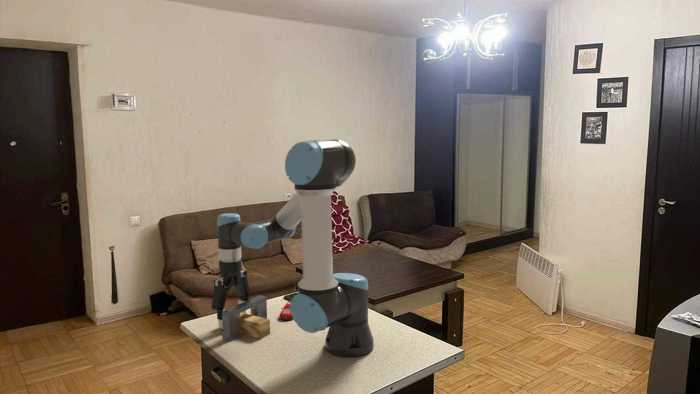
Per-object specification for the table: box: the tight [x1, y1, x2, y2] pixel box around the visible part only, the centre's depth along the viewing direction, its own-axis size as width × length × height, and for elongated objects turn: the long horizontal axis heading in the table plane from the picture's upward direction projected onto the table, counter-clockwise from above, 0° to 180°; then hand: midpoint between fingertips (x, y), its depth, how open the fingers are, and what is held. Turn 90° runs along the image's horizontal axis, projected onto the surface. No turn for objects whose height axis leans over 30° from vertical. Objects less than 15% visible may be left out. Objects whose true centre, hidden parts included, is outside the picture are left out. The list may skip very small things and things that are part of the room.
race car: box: [279, 301, 294, 321], centre depth 190 cm, size 13×5×4 cm, turn 171°
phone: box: [283, 291, 298, 302], centre depth 205 cm, size 8×1×15 cm
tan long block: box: [240, 313, 271, 340], centre depth 175 cm, size 18×5×5 cm, turn 59°
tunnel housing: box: [222, 294, 268, 342], centre depth 175 cm, size 3×18×10 cm, turn 149°
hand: (232, 323), depth 178 cm, fingers open, 9 cm apart
